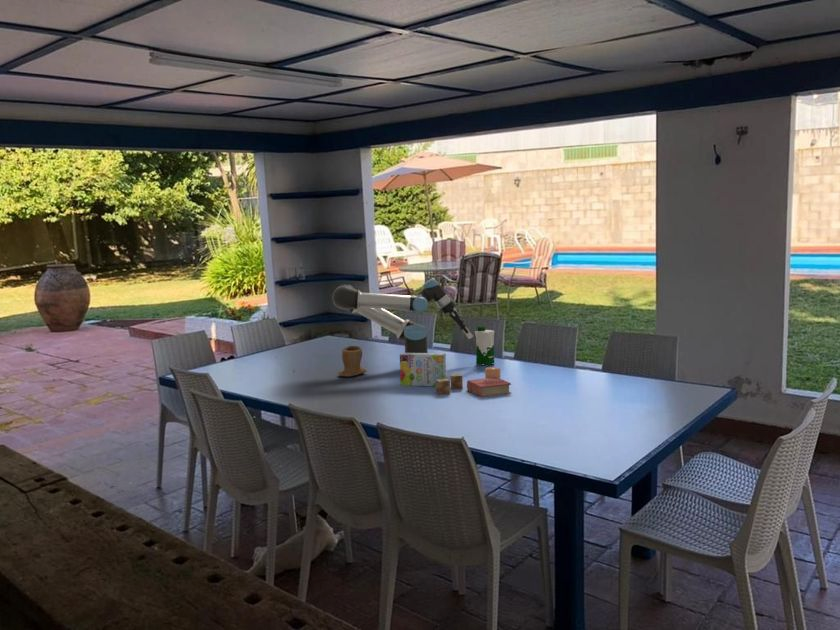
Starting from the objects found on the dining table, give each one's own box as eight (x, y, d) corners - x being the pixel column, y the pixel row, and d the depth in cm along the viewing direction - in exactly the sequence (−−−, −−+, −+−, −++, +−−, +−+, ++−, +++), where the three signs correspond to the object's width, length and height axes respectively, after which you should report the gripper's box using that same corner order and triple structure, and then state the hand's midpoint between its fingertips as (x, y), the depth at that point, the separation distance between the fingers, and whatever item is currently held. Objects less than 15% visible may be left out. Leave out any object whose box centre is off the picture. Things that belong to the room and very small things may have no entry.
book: (466, 391, 326) (465, 380, 325) (496, 387, 331) (496, 377, 331) (479, 398, 313) (479, 386, 312) (511, 394, 318) (511, 383, 317)
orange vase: (350, 379, 357) (349, 349, 355) (334, 376, 365) (333, 347, 363) (372, 374, 368) (371, 345, 366) (357, 371, 376) (356, 343, 374)
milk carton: (482, 362, 392) (481, 325, 389) (496, 363, 386) (496, 326, 384) (473, 364, 385) (473, 327, 382) (488, 366, 379) (487, 328, 377)
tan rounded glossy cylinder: (486, 387, 331) (486, 370, 330) (484, 384, 338) (484, 367, 337) (501, 386, 332) (501, 369, 331) (499, 383, 338) (499, 366, 337)
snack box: (446, 384, 340) (445, 352, 338) (443, 387, 334) (443, 355, 332) (403, 383, 345) (402, 351, 343) (400, 385, 340) (399, 354, 338)
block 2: (451, 389, 330) (451, 376, 329) (450, 386, 335) (450, 374, 334) (462, 388, 330) (462, 375, 329) (461, 386, 335) (461, 373, 334)
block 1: (439, 395, 319) (439, 381, 318) (435, 392, 324) (435, 379, 323) (450, 393, 321) (449, 380, 320) (446, 391, 325) (446, 378, 325)
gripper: (453, 302, 369) (478, 334, 371) (449, 297, 393) (472, 328, 396) (441, 311, 369) (466, 343, 371) (438, 306, 394) (461, 336, 396)
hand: (469, 335), depth 384 cm, fingers open, 13 cm apart
